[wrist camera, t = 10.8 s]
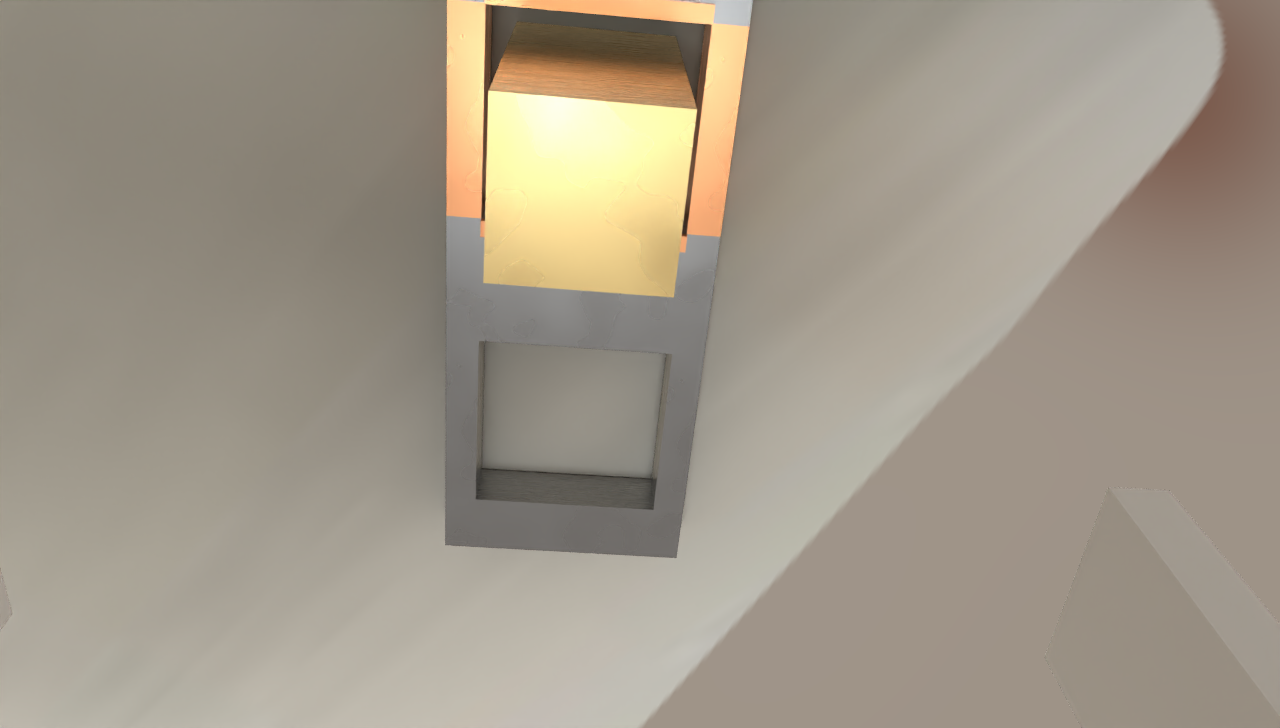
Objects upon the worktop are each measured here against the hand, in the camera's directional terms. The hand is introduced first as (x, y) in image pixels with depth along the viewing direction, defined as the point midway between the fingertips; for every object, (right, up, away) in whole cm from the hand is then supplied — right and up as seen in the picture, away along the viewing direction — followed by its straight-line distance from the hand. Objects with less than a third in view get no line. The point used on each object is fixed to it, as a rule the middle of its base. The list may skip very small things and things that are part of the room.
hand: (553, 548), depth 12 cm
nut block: (0, +10, +18) cm, 21 cm away
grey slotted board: (-1, +5, +20) cm, 21 cm away
